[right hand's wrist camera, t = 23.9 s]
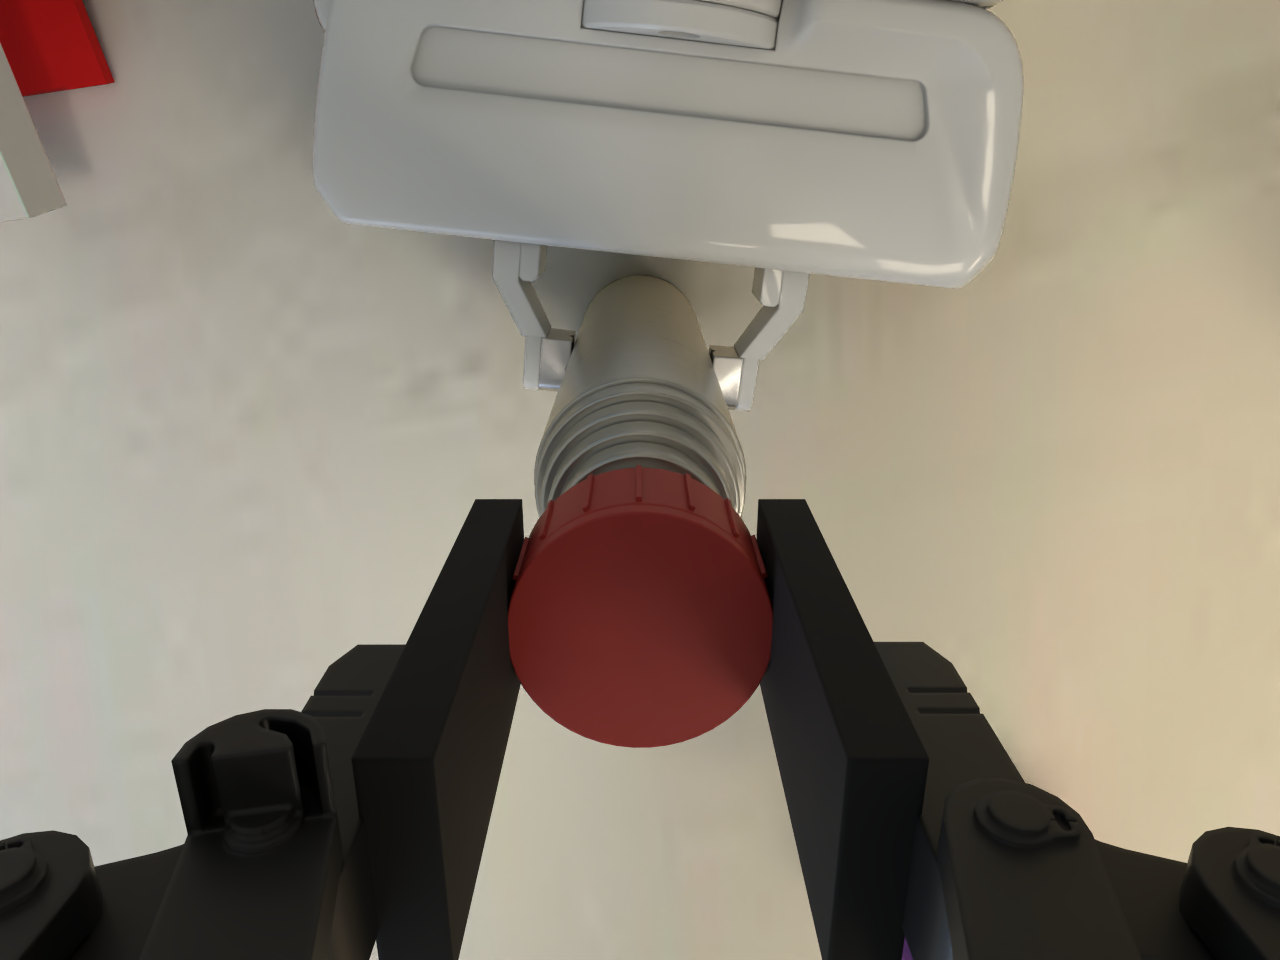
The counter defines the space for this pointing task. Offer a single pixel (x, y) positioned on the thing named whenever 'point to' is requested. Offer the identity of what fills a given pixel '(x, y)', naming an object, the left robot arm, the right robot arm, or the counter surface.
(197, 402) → the counter surface
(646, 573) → the cap
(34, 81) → the toy
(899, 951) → the right robot arm
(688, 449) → the bottle
